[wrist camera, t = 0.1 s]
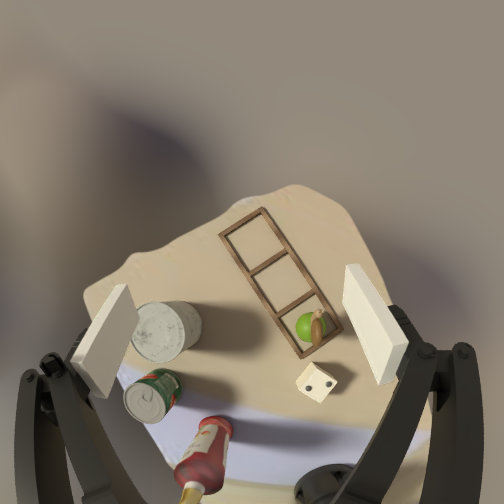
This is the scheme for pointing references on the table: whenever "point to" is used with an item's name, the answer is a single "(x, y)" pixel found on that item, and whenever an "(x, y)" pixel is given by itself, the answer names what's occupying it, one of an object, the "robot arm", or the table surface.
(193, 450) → the liquor
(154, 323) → the grey cylinder
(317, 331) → the snail figurine
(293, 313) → the table surface
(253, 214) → the wooden ladder frame
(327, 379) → the die
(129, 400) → the canned tomato
